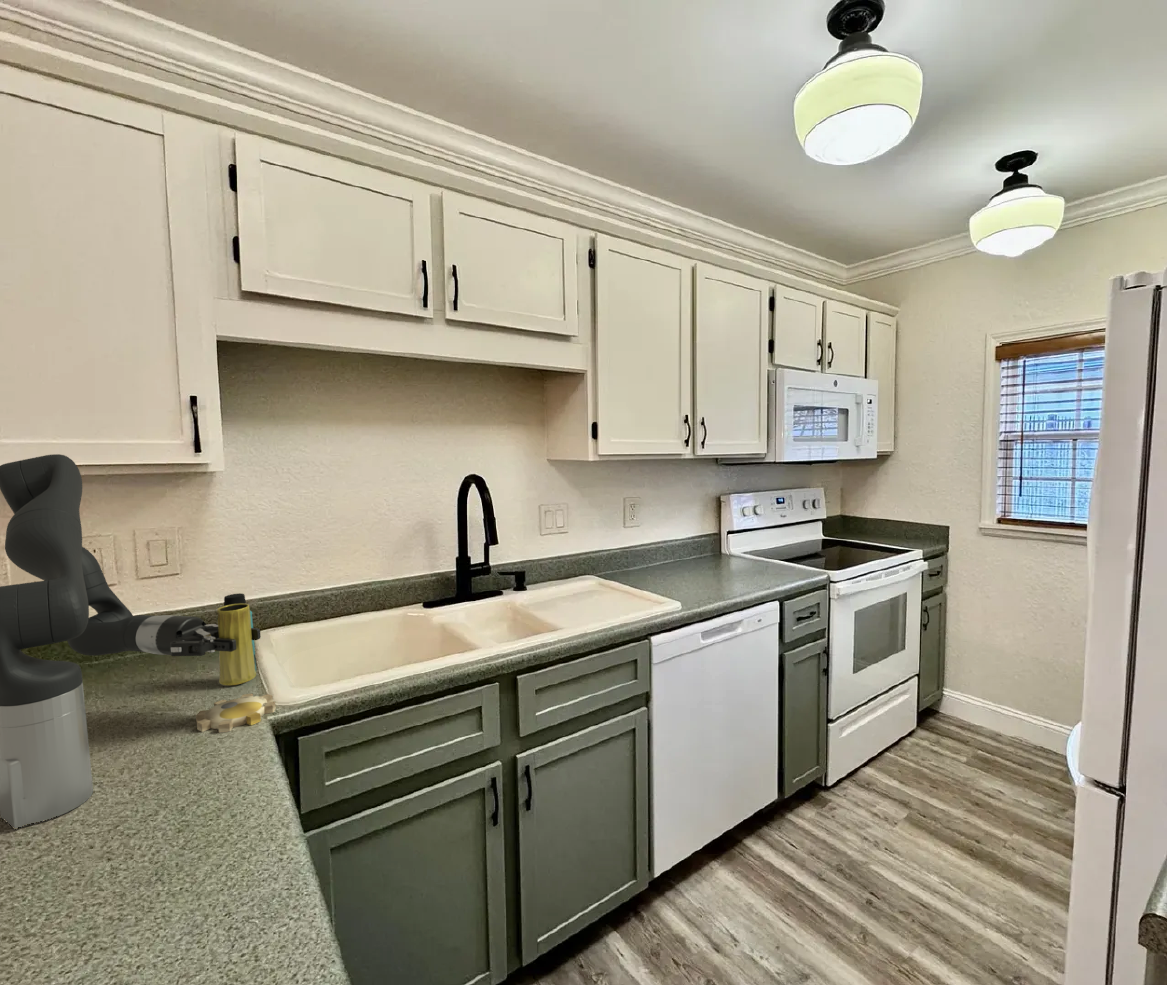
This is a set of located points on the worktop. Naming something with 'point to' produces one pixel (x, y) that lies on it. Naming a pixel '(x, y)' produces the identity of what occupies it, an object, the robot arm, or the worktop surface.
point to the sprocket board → (235, 712)
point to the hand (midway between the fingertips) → (246, 639)
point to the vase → (238, 627)
